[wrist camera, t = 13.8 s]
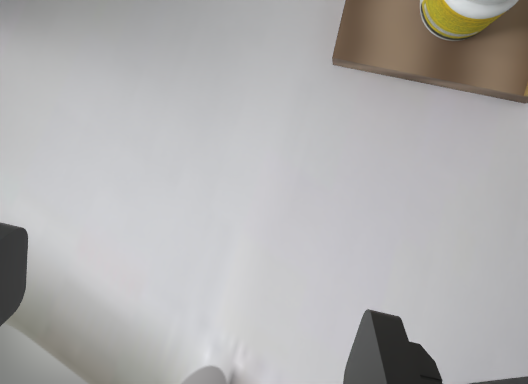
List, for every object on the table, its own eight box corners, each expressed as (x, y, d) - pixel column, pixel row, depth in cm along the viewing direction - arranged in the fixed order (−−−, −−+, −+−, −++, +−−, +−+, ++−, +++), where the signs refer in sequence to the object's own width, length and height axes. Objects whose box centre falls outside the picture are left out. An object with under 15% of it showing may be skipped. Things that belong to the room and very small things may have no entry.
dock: (332, 64, 35) (331, 51, 30) (365, -74, 34) (370, -114, 29) (524, 103, 33) (559, 96, 28) (567, -42, 32) (612, -78, 27)
